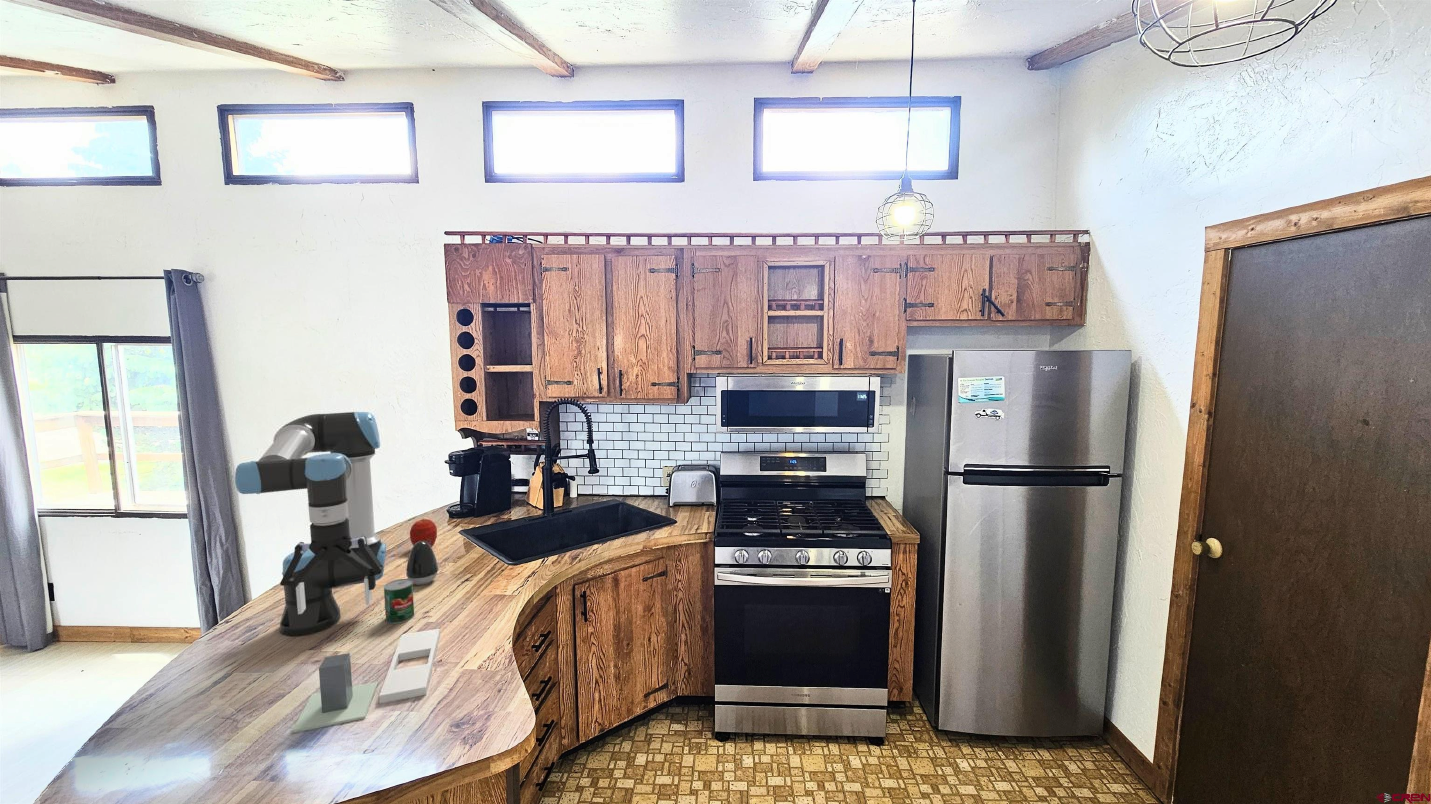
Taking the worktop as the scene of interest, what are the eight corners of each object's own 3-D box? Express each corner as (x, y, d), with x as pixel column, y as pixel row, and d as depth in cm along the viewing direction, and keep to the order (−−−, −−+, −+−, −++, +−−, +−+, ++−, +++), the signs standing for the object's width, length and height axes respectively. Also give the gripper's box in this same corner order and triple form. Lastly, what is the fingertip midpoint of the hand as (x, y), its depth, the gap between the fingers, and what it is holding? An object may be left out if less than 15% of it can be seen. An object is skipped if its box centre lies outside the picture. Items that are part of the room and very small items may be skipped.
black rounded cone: (444, 576, 206) (442, 536, 205) (427, 588, 196) (425, 547, 194) (418, 575, 207) (416, 535, 206) (400, 587, 197) (398, 546, 195)
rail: (379, 703, 134) (379, 695, 133) (401, 641, 162) (401, 634, 161) (426, 694, 137) (425, 686, 137) (440, 635, 165) (439, 628, 165)
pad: (292, 733, 123) (291, 730, 123) (312, 695, 136) (312, 693, 136) (365, 718, 128) (364, 716, 128) (378, 683, 141) (378, 681, 141)
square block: (322, 713, 129) (318, 668, 128) (328, 700, 134) (325, 657, 133) (347, 708, 131) (344, 664, 130) (352, 696, 135) (349, 653, 134)
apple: (411, 547, 236) (409, 515, 234) (438, 544, 240) (436, 512, 238) (409, 556, 226) (408, 522, 225) (437, 552, 230) (435, 519, 229)
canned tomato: (401, 625, 171) (399, 590, 170) (379, 622, 172) (377, 588, 171) (420, 612, 179) (418, 580, 177) (398, 610, 180) (396, 577, 179)
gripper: (257, 532, 123) (266, 623, 125) (386, 520, 131) (392, 605, 134) (271, 521, 130) (279, 607, 132) (393, 510, 138) (398, 592, 141)
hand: (336, 607), depth 133 cm, fingers open, 13 cm apart
